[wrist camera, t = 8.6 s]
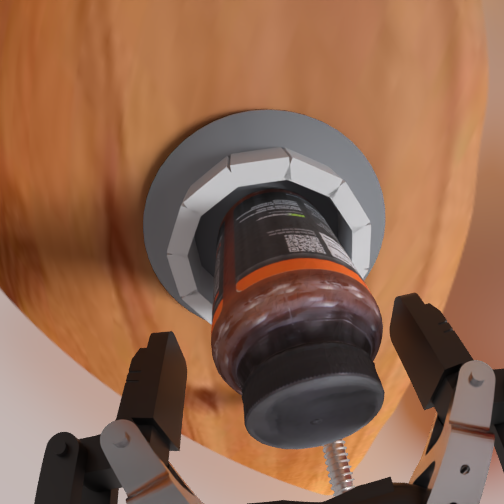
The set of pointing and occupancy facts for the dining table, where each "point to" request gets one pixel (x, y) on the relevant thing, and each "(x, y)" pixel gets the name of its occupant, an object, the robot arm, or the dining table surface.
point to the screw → (338, 467)
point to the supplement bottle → (293, 324)
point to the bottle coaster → (252, 180)
